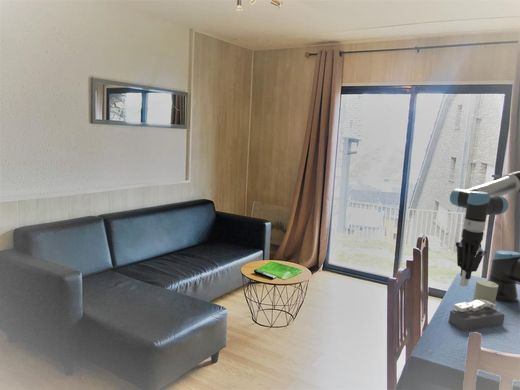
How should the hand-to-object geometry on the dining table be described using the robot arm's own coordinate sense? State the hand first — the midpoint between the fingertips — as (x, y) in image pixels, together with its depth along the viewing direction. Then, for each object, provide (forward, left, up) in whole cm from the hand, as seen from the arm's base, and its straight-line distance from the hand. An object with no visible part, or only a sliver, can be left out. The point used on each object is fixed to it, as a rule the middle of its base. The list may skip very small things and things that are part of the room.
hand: (463, 285), depth 170 cm
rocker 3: (-16, 0, -10) cm, 19 cm away
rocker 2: (-9, 0, -10) cm, 13 cm away
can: (-28, -11, -17) cm, 35 cm away
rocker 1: (-2, 0, -10) cm, 10 cm away
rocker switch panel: (-9, +2, -17) cm, 19 cm away
